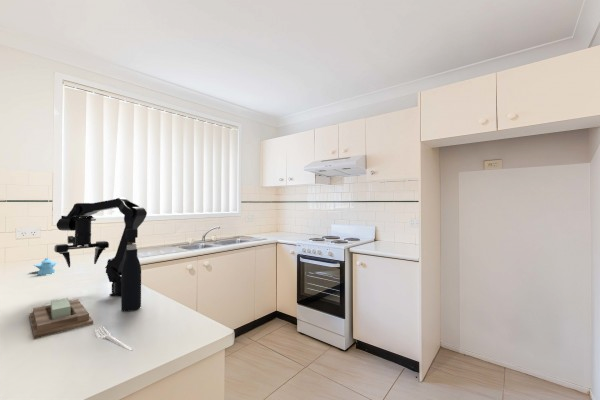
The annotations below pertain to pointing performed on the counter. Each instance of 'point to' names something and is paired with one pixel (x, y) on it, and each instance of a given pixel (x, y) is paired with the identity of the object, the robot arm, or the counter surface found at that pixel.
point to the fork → (110, 338)
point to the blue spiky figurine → (46, 267)
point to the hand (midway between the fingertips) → (82, 265)
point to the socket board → (58, 320)
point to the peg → (60, 308)
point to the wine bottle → (131, 275)
